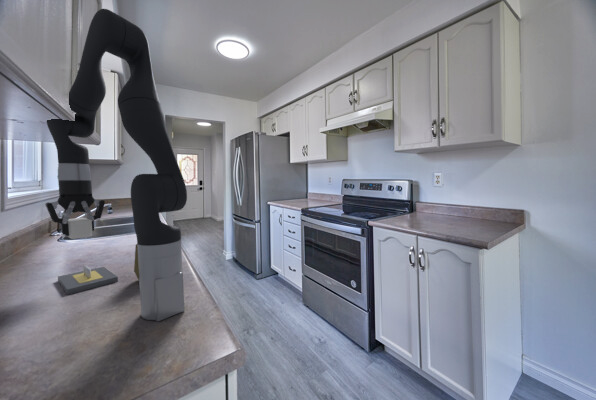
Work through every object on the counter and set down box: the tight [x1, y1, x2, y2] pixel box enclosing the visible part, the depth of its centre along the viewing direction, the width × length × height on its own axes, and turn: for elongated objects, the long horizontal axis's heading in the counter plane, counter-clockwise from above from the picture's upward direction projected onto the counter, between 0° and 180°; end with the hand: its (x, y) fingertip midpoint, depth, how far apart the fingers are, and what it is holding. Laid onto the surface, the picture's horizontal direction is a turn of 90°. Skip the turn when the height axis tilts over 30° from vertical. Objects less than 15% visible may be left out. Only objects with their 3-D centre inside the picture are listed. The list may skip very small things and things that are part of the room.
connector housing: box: [66, 217, 94, 240], centre depth 77 cm, size 9×5×5 cm, turn 52°
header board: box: [57, 265, 119, 296], centre depth 80 cm, size 16×12×4 cm
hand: (78, 233), depth 77 cm, fingers closed on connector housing, 4 cm apart
